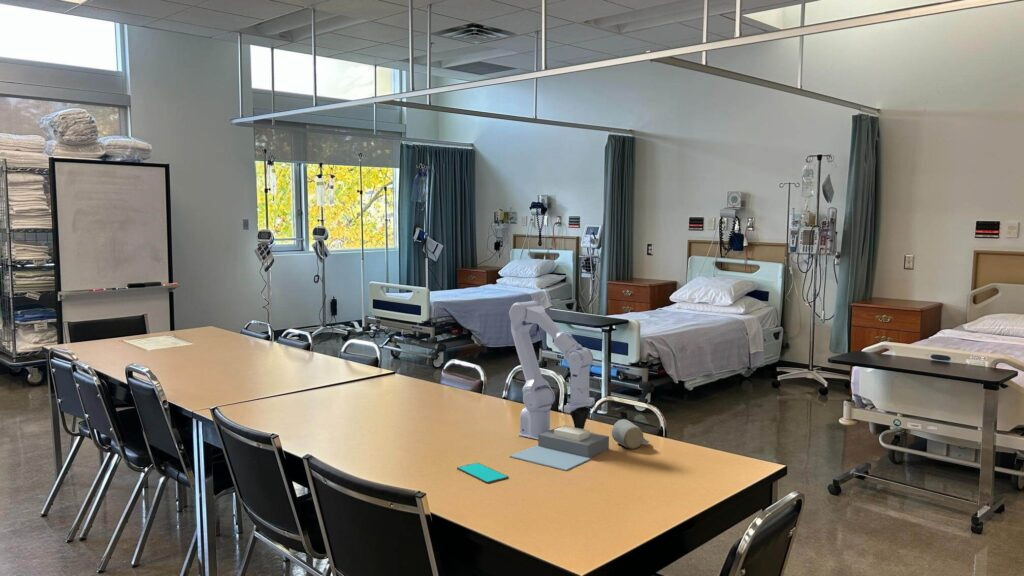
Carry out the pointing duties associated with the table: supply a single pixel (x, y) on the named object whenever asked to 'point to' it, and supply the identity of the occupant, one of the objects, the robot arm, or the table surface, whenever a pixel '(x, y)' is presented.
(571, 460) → the mat
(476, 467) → the smartphone
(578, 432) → the cream rectangular block
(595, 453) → the plate
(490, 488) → the table surface
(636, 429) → the ceramic mug
